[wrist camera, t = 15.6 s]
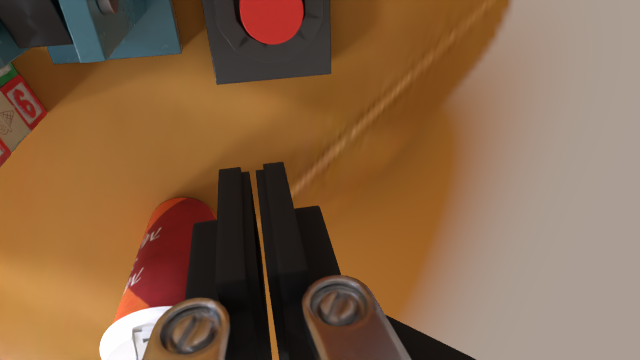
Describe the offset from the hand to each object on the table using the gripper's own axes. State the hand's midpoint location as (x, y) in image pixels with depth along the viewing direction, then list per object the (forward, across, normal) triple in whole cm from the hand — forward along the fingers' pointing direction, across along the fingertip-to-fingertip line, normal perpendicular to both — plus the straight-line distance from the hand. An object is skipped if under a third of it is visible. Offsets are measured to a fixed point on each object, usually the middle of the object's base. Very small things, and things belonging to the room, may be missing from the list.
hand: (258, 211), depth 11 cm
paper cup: (+21, +7, +16) cm, 28 cm away
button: (+18, -2, -2) cm, 18 cm away
